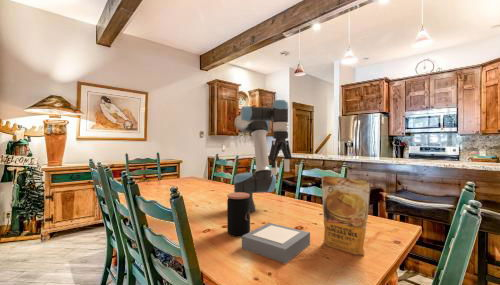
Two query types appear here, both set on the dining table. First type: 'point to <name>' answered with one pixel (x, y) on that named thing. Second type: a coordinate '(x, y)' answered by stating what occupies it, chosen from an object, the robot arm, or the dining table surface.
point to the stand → (276, 242)
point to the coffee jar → (238, 214)
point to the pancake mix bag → (345, 213)
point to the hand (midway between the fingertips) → (280, 173)
